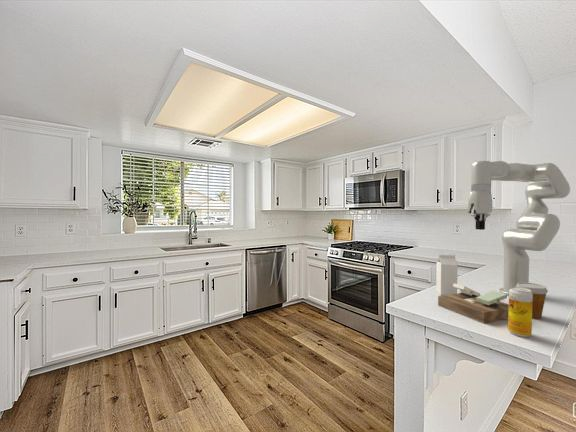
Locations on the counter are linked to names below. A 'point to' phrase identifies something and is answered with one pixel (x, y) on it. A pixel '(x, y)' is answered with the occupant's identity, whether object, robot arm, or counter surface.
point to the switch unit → (474, 307)
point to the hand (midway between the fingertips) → (480, 229)
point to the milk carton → (446, 275)
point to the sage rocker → (491, 297)
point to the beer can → (520, 311)
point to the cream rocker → (466, 290)
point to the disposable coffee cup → (536, 297)
